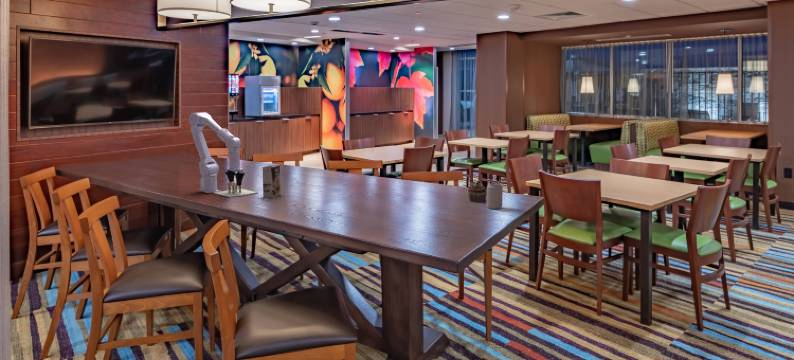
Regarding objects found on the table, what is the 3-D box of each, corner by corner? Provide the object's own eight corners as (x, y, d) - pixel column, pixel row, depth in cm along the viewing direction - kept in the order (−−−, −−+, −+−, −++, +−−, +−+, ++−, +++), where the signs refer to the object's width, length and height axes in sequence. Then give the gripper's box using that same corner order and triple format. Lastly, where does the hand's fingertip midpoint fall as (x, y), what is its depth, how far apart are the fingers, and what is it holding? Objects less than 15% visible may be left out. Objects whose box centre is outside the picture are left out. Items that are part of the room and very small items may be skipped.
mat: (213, 193, 305) (213, 192, 305) (241, 189, 318) (241, 188, 317) (229, 197, 294) (229, 196, 294) (257, 193, 306) (257, 192, 306)
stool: (227, 192, 305) (227, 182, 304) (236, 191, 309) (236, 181, 308) (233, 193, 301) (232, 183, 301) (242, 192, 305) (241, 182, 304)
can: (490, 205, 275) (491, 181, 273) (504, 207, 270) (505, 183, 268) (483, 208, 268) (484, 183, 267) (498, 210, 264) (498, 185, 262)
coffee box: (274, 197, 294) (273, 167, 291) (262, 197, 295) (261, 167, 292) (281, 194, 302) (280, 165, 300) (270, 194, 304) (269, 164, 301)
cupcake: (475, 203, 280) (475, 183, 279) (464, 200, 289) (464, 181, 287) (490, 201, 285) (491, 182, 283) (479, 198, 293) (480, 179, 292)
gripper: (220, 159, 305) (221, 184, 307) (234, 161, 295) (235, 187, 297) (232, 158, 310) (233, 182, 312) (246, 160, 300) (247, 185, 302)
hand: (235, 184), depth 305 cm, fingers open, 7 cm apart
